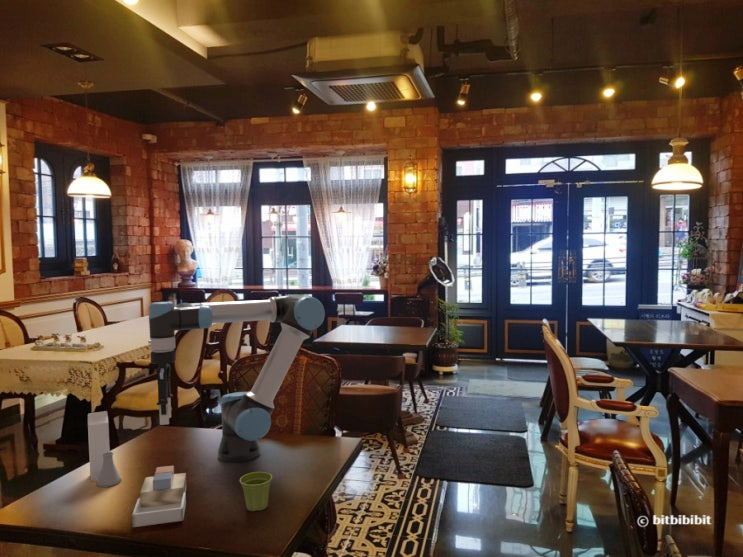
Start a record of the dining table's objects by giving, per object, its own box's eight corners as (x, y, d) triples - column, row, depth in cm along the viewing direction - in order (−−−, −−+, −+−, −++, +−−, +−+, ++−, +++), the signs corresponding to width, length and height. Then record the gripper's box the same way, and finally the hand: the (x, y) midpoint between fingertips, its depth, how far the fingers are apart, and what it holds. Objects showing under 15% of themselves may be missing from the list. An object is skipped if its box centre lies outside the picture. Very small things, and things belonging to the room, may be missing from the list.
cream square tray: (186, 488, 177) (185, 472, 177) (183, 503, 166) (183, 487, 166) (146, 493, 174) (145, 477, 174) (140, 509, 163) (140, 492, 163)
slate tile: (172, 481, 170) (172, 472, 170) (171, 488, 166) (170, 478, 166) (155, 483, 169) (154, 474, 169) (153, 490, 164) (152, 480, 164)
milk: (110, 477, 187) (108, 413, 186) (90, 481, 184) (88, 416, 183) (109, 471, 193) (106, 408, 191) (89, 475, 190) (87, 411, 188)
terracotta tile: (174, 474, 176) (173, 465, 176) (172, 481, 171) (172, 471, 171) (157, 476, 175) (157, 467, 174) (155, 483, 170) (155, 473, 170)
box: (185, 503, 166) (185, 492, 166) (183, 520, 156) (182, 508, 156) (138, 509, 163) (138, 498, 163) (132, 527, 153) (132, 514, 152)
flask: (111, 488, 178) (110, 457, 178) (91, 487, 180) (90, 456, 179) (125, 479, 186) (124, 449, 185) (106, 478, 187) (105, 448, 186)
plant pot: (257, 517, 157) (256, 487, 156) (233, 509, 162) (232, 480, 161) (279, 504, 165) (278, 475, 164) (256, 497, 170) (255, 469, 169)
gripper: (154, 346, 187) (156, 413, 188) (146, 356, 168) (149, 431, 169) (177, 344, 189) (180, 411, 190) (172, 354, 170) (175, 428, 171)
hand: (165, 420), depth 180 cm, fingers open, 6 cm apart
